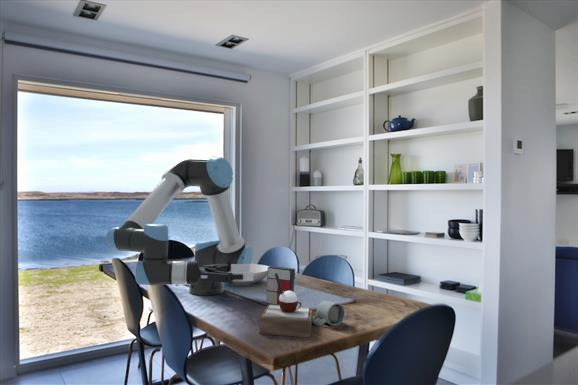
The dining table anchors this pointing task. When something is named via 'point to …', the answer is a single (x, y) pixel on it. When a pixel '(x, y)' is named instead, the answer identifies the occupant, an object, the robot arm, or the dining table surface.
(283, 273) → the calculator
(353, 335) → the dining table surface
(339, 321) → the ceramic mug
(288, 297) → the cocoa
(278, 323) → the walnut stand
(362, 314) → the dining table surface
